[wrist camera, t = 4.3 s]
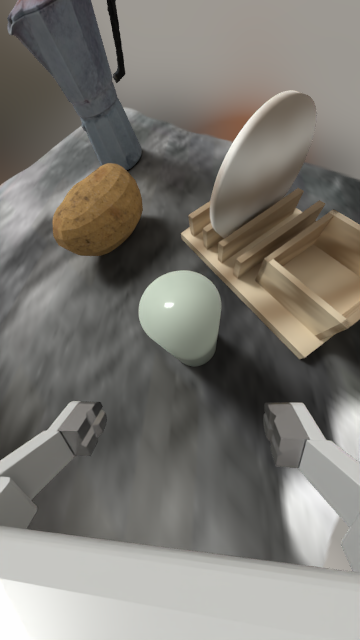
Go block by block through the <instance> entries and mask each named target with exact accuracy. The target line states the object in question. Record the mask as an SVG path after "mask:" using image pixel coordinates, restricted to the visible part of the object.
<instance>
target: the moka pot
mask: <svg viewBox="0 0 360 640" xmlns="http://www.w3.org/2000/svg"><path fill="white" fill-rule="evenodd" d="M115 1H116V0H107V5H108V11H109V15H110V20H111V26H112V32H113V38H114V41H115V47H116V54H117V62H118V69H117V71H116V72H115V73H114V74H113V78H114V80H115V81H116V83H117V82H119V81H120V79H121V78H122V77H123V76H124V75H125V68H124V59H123V52H122V47H121V38H120V32H119V22H118V17H117V10H116V5H115ZM8 32H9V34H10V35H14V36H16V37H17V38H18V39H19V40H20V41H21V42H22V44H23V45H24V46H25V47H26V48H27V49H28V50H29V51H30V52H31V53H32V54H33V55H34V56H35V58H36V59H37V60H38V61H39V62H40V63H41V64H42V65H43V66H44V67H45V68H46V69H47V70H48V72H50V74H51V75H52V76H53V77H54V78H55V80H56V81H57V83H58V85H59V86H60V88H61V89H62V91H63V92H64V94H65V95H66V97H67V99H68V100H69V102H71V103H72V104H73V106H74V108H75V110H76V112H77V114H78V115H79V116H80V117H81V118H80V119H81V121H82V128H83V130H84V131H86V132H87V135H88V137H89V139H90V142H91V144H92V146H93V148H94V151H95V153H96V155H97V158H98V160H99V162H100V164H101V166H102V165H104V164H107V163H112V164H118V165H120V166H122V167H123V168H124V169H125V170H126V171H127V170H128V169H130V168H132V167H133V166H134V165H135V164H136V163H137V162H138V160H139V159H140V157H141V151H142V149H141V146H140V144H139V142H138V139H137V137H136V135H135V133H134V131H133V129H132V127H131V124H130V122H129V120H128V118H127V115H126V113H125V111H124V109H123V107H122V105H121V103H120V101H119V99H118V98H117V95H116V91H115V88H114V85H113V82H112V74H111V71H110V68H109V64H108V60H107V56H106V53H105V50H104V46H103V42H102V39H101V35H100V32H99V28H98V24H97V21H96V17H95V14H94V10H93V7H92V3H91V0H18V1H17V3H16V5H15V6H14V8H13V10H12V11H11V13H10V14H9V16H8Z"/></svg>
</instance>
